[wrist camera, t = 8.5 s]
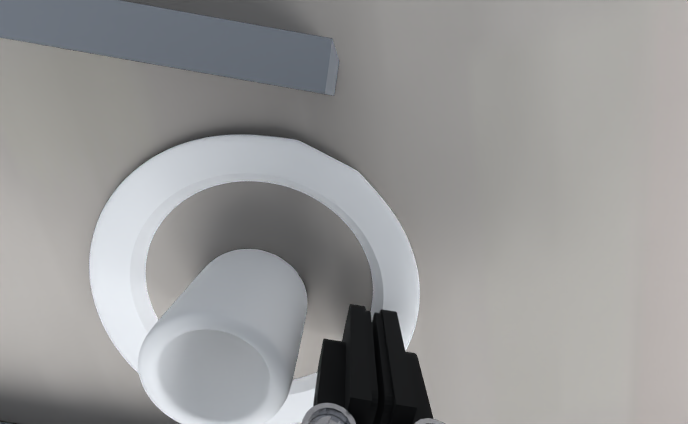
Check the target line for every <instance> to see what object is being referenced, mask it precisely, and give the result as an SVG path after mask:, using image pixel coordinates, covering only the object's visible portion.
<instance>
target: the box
mask: <svg viewBox="0 0 688 424" xmlns="http://www.w3.org/2000/svg"><path fill="white" fill-rule="evenodd" d="M0 38H6V39H12V40H18V41H23V42H29V43H35V44H41V45H46V46H52V47H58V48H63V49H69V50H75V51H81V52H86V53H92V54H98V55H104V56H109V57H115V58H121V59H126V60H132V61H138V62H144V63H149V64H155V65H161V66H167V67H172V68H178V69H184V70H189V71H195V72H201V73H207V74H212V75H218V76H224V77H230V78H235V79H241V80H247V81H252V82H258V83H264V84H270V85H275V86H281V87H287V88H293V89H298V90H304V91H310V92H315V93H321V94H327V95H333V96H334V94H335V87H336V81H337V74H338V67H339V58H338V55H337V52H336V48H335V45H334V42H333V39H332V38H327V37H321V36H315V35H310V34H304V33H299V32H293V31H288V30H282V29H277V28H271V27H266V26H260V25H254V24H249V23H243V22H238V21H232V20H227V19H221V18H216V17H210V16H204V15H199V14H193V13H188V12H182V11H177V10H171V9H166V8H160V7H155V6H149V5H143V4H138V3H132V2H127V1H121V0H0ZM0 424H13V423H6V422H0Z"/></svg>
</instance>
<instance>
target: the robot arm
mask: <svg viewBox="0 0 688 424" xmlns="http://www.w3.org/2000/svg"><path fill="white" fill-rule="evenodd" d="M301 424H445V423H443V422H441V421H439V420H436V419H433V416H432V412H431V408H430V404H429V400H428V396H427V392H426V388H425V384H424V381H423V377H422V373H421V369H420V365H419V361H418V358H417V355H416V354H415V353H410V352H405V347H404V343H403V338H402V333H401V329H400V324H399V319H398V315H397V312H396V311H389V310H383V309H381V310H380V313H376V312H375V313H374V316H373V320H371V312H370V311H366V308H365V306H359V305H353V304H350V306H349V310H348V315H347V320H346V324H345V329H344V334H343V339H342V342H341V341H335V340H328V339H324V340H323V344H322V349H321V355H320V360H319V366H318V372H317V379H316V387H315V395H314V403H313V407H312V408H310V409H309V410H308V411H307V412H306V414H305V416H304V418H303V420H302V423H301Z"/></svg>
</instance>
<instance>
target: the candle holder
mask: <svg viewBox="0 0 688 424" xmlns="http://www.w3.org/2000/svg"><path fill="white" fill-rule="evenodd" d="M241 181H257V182H267V183H273V184H278V185H282V186H286V187H289V188H292V189H295V190H297V191H300V192H302V193H304V194H307V195H309V196H311V197H312V198H314V199H316V200H318V201H319V202H321V203H322V204H324V205H325V206H327V207H328V208H329V209H331V210H332V211H333V212H334V213H335V214H337V215H338V216H339V217H340V218H341V219H342V220H343V221H344V222H345V223H346V224H347V226H348V227H349V228H350V229H351V231H352V232H353V233H354V235H355V236H356V238H357V239H358V241H359V242H360V244H361V246H362V248H363V250H364V252H365V254H366V257H367V260H368V263H369V266H370V270H371V275H372V282H373V299H372V306H371V311H370V312H371V320H373V316H374V313H375V312H376V313H380V310H381V309H383V310H389V311H396V312H397V315H398V319H399V324H400V329H401V333H402V338H403V343H404V347H405V351H406V349H407V347H408V345H409V343H410V341H411V338H412V335H413V333H414V329H415V326H416V322H417V317H418V312H419V302H420V285H419V275H418V269H417V264H416V261H415V257H414V254H413V250H412V248H411V245H410V243H409V240H408V238H407V236H406V234H405V232H404V230H403V228H402V226H401V224H400V222H399V221H398V219H397V218H396V216H395V215H394V213H393V212H392V210H391V209H390V208H389V206H388V205H387V204H386V202H385V201H384V200H383V199H382V197H381V196H380V195H379V194H378V193H377V191H376V190H375V189H374V188H373V187H372V186H371V185H370V183H369V182H368V181H367V180H366V179H365V178H364V177H363V176H362V175H361V174H360V173H359V172H358V171H357V170H355V169H353V168H352V167H350V166H348V165H346V164H344V163H342V162H340V161H338V160H336V159H334V158H332V157H330V156H328V155H326V154H324V153H322V152H321V151H319V150H317V149H315V148H313V147H311V146H309V145H307V144H305V143H303V142H301V141H299V140H295V139H289V138H281V137H273V136H263V135H240V134H237V135H220V136H212V137H206V138H201V139H197V140H193V141H189V142H186V143H183V144H180V145H177V146H175V147H172V148H170V149H168V150H166V151H163V152H161V153H160V154H158V155H156V156H154V157H153V158H151V159H149V160H148V161H146V162H145V163H143V164H142V165H141V166H139V167H138V168H137V169H136V170H134V171H133V172H132V173H131V174H130V175H129V176H128V177H127V178H126V179H125V180H124V181H123V182H122V183H121V184H120V185H119V186H118V188H117V189H116V190H115V191H114V193H113V194H112V195H111V197H110V198H109V200H108V202H107V203H106V205H105V207H104V209H103V210H102V212H101V215H100V217H99V219H98V222H97V224H96V227H95V230H94V234H93V238H92V242H91V248H90V258H89V275H90V284H91V290H92V295H93V299H94V303H95V306H96V309H97V312H98V315H99V317H100V320H101V322H102V324H103V326H104V328H105V330H106V332H107V334H108V336H109V337H110V339H111V341H112V342H113V344H114V345H115V347H116V348H117V350H118V351H119V352H120V354H121V355H122V356H123V357H124V358H125V360H126V361H127V362H128V363H129V364H130V365H131V366H132V367H133V368H134V369H135V371H137V372H138V373H139V376H140V380H141V383H142V386H143V388H144V390H145V392H146V393H147V395H148V396H149V398H150V399H151V400H152V402H153V403H154V404H155V405H156V406H157V407H158V408H159V409H160V410H161V411H162V412H163V413H165V414H166V415H167V416H169V417H170V418H172V419H173V420H175V421H177V422H178V423H180V424H296V423H302V420H303V418H304V416H305V414H306V412H307V411H308V410H309V409H310V408H312V407H313V403H314V395H315V387H316V379H317V372H316V373H313V374H311V375H308V376H305V377H301V378H298V379H293V376H294V371H295V366H296V362H297V357H298V352H299V347H300V343H301V338H302V333H303V328H304V324H305V319H306V314H307V306H308V300H307V293H306V289H305V286H304V283H303V281H302V280H301V278H300V276H299V275H298V273H297V272H296V270H295V269H294V268H293V267H292V266H291V265H290V264H288V263H287V262H286V261H284V260H283V259H282V258H280V257H278V256H277V255H274V254H272V253H269V252H266V251H262V250H258V249H238V250H233V251H230V252H227V253H225V254H222V255H220V256H218V257H217V258H215V259H214V260H213V261H211V262H210V263H209V264H208V265H207V266H206V267H205V268H204V269H203V270H202V271H201V272H200V274H199V275H198V276H197V277H196V278H195V279H194V280H193V282H192V283H191V284H190V285H189V286H188V287H187V288H186V290H185V291H184V292H183V293H182V294H181V295H180V296H179V298H178V299H177V300H176V301H175V302H174V303H173V304H172V306H171V307H170V308H169V309H168V310H167V311H166V312H165V314H164V315H163V316H162V317H161V318H160V319H159V320H158V318H157V316H156V314H155V312H154V310H153V307H152V305H151V302H150V299H149V295H148V291H147V285H146V260H147V254H148V250H149V247H150V244H151V241H152V239H153V236H154V234H155V232H156V231H157V229H158V227H159V226H160V224H161V223H162V221H163V220H164V219H165V218H166V216H167V215H168V214H169V213H170V212H171V211H172V210H173V209H174V208H175V207H176V206H178V205H179V204H180V203H181V202H183V201H184V200H186V199H187V198H189V197H190V196H192V195H194V194H196V193H198V192H200V191H202V190H205V189H207V188H210V187H213V186H217V185H221V184H225V183H231V182H241Z"/></svg>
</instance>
